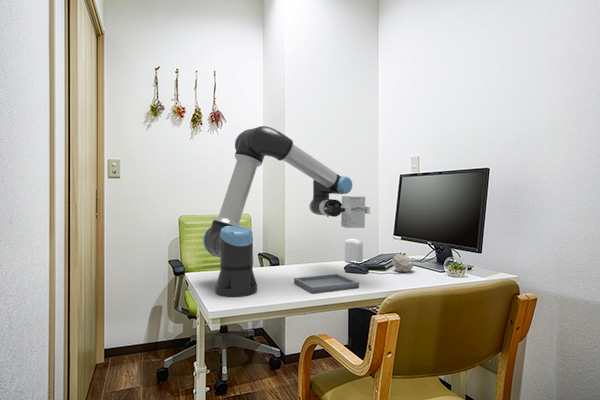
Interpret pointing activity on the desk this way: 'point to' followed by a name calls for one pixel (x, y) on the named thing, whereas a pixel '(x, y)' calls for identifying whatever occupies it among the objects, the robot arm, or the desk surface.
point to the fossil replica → (402, 263)
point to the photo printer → (353, 250)
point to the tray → (325, 283)
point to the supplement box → (353, 212)
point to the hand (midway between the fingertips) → (359, 210)
